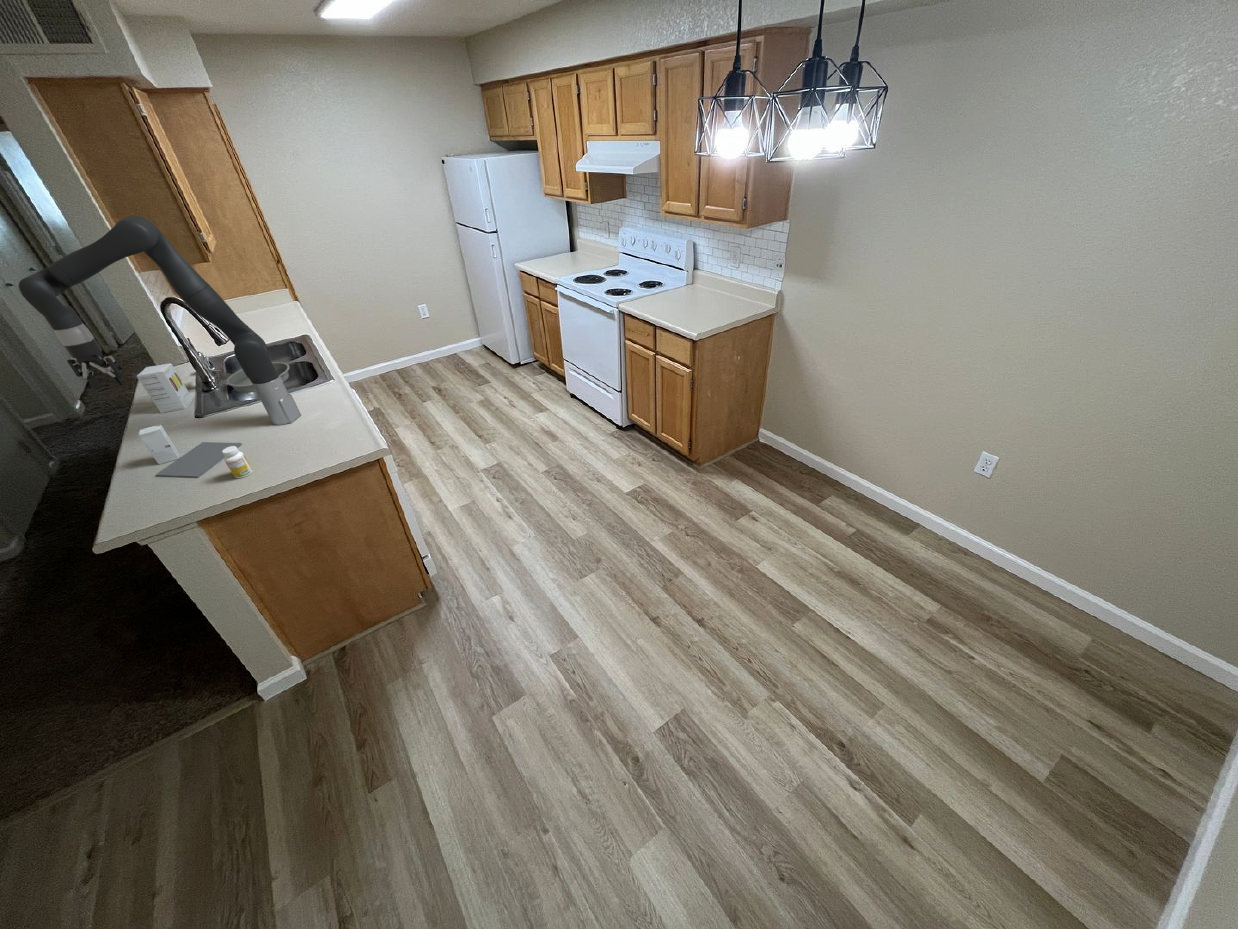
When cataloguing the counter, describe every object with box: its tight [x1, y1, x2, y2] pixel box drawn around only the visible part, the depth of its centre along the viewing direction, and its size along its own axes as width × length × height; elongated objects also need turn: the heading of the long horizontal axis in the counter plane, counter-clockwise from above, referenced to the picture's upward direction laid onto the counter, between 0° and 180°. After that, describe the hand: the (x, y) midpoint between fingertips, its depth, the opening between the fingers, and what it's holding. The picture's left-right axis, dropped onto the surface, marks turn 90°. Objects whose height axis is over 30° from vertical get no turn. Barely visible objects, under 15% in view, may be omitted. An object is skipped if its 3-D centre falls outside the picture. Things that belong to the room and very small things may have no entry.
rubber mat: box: [155, 441, 243, 479], centre depth 176 cm, size 16×20×1 cm
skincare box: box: [138, 424, 180, 465], centre depth 174 cm, size 6×4×12 cm
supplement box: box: [136, 363, 194, 414], centre depth 207 cm, size 10×9×17 cm
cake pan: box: [226, 361, 290, 394], centre depth 226 cm, size 25×25×4 cm
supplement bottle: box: [222, 446, 254, 479], centre depth 165 cm, size 5×5×10 cm
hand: (110, 386), depth 169 cm, fingers open, 8 cm apart
